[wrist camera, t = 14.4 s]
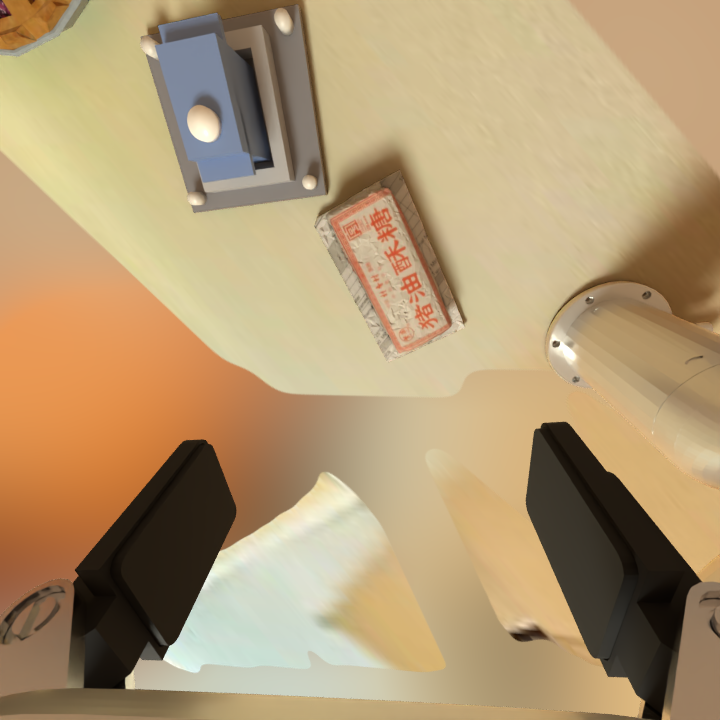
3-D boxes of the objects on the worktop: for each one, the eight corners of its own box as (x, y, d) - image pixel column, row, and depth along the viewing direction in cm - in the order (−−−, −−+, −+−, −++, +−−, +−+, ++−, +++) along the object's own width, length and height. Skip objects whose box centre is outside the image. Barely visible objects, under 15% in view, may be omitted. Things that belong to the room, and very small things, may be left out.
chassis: (300, 10, 28) (291, -10, 26) (327, 194, 34) (322, 194, 32) (148, 41, 30) (124, 26, 27) (198, 212, 36) (183, 213, 33)
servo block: (248, 46, 29) (202, -4, 22) (275, 177, 33) (244, 173, 26) (199, 56, 29) (138, 11, 22) (232, 184, 34) (189, 181, 27)
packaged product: (303, 222, 32) (400, 165, 29) (313, 219, 36) (399, 169, 33) (387, 376, 38) (473, 340, 35) (387, 358, 42) (464, 324, 40)
